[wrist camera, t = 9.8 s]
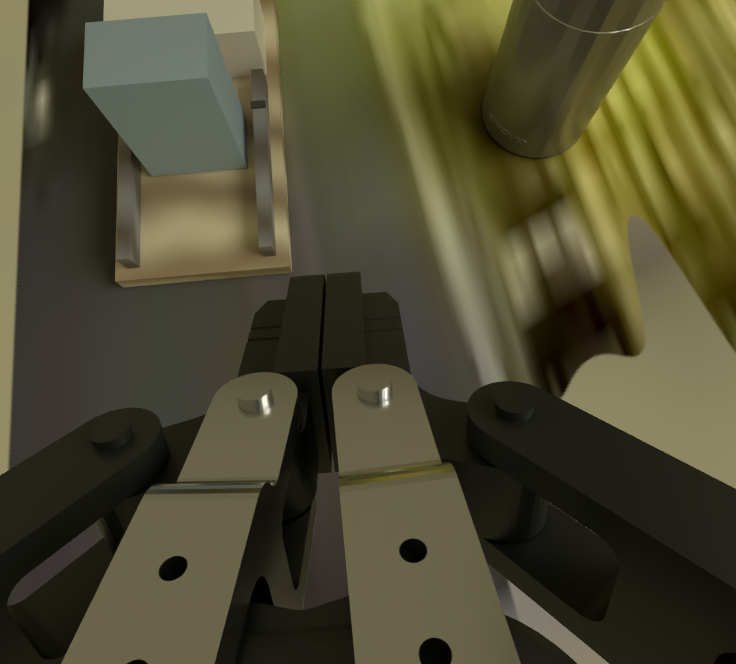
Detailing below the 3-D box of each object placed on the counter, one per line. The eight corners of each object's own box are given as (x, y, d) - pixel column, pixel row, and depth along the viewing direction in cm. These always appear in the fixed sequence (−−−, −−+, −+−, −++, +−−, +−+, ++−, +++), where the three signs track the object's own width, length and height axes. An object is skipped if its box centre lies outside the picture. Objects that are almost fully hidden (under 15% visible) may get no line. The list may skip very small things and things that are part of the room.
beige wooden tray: (292, 272, 45) (284, 256, 41) (123, 287, 45) (101, 272, 41) (276, 11, 51) (269, -23, 47) (128, 24, 51) (109, -9, 47)
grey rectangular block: (247, 167, 45) (207, 77, 35) (151, 176, 45) (82, 88, 35) (245, 115, 47) (206, 12, 36) (152, 123, 46) (85, 22, 36)
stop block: (267, 82, 48) (254, 39, 43) (130, 94, 47) (102, 52, 43) (264, 17, 49) (251, -32, 44) (131, 29, 49) (104, -19, 44)
